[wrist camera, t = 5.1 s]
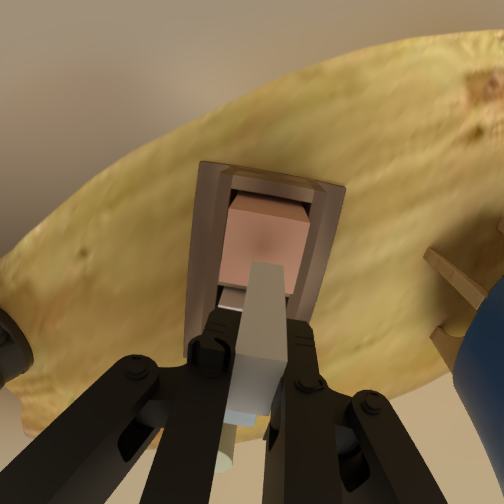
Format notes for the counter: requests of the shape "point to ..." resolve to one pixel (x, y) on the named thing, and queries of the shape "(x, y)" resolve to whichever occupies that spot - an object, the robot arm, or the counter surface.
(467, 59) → the counter surface
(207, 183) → the brown block holder tray
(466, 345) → the planter
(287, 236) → the key terracotta
